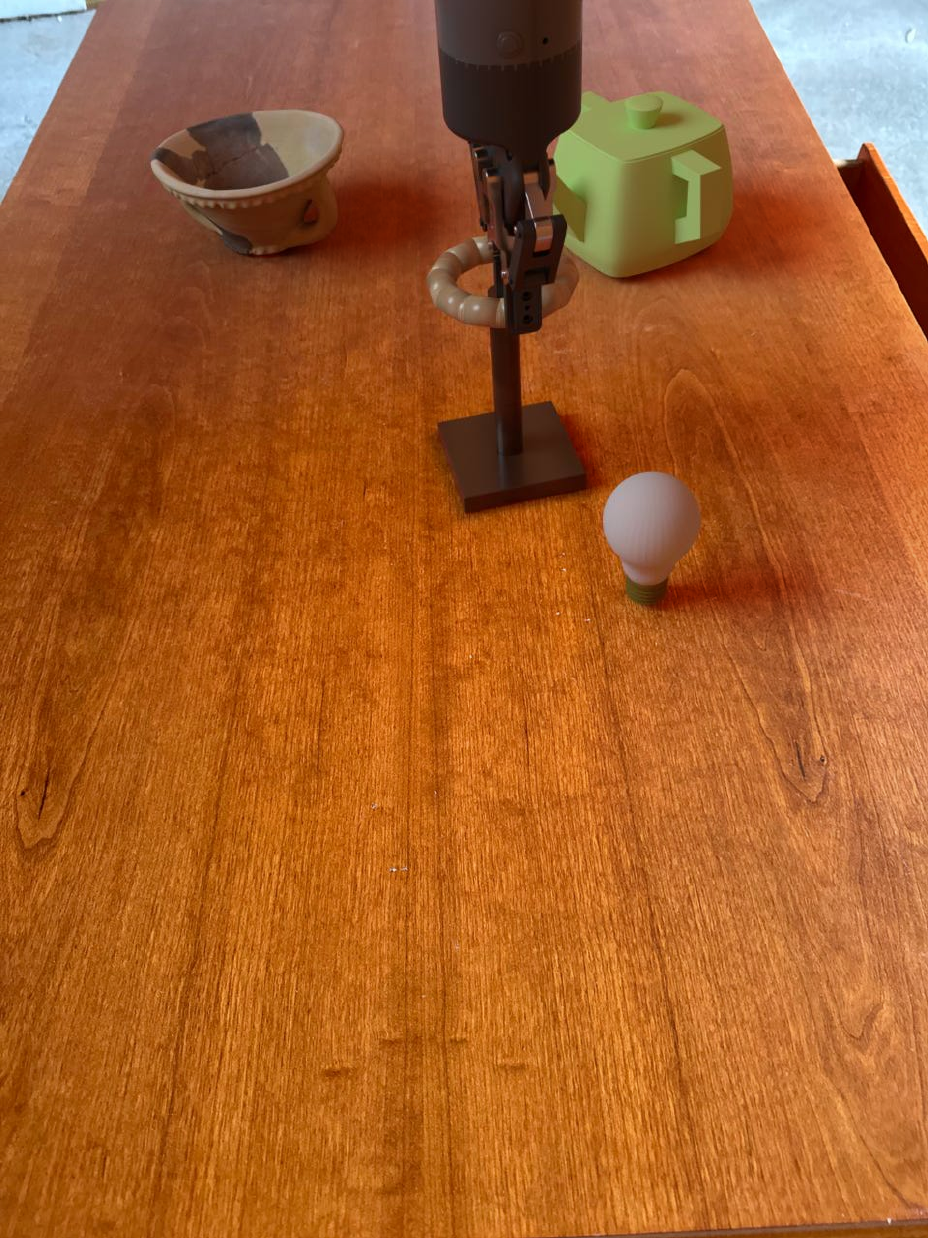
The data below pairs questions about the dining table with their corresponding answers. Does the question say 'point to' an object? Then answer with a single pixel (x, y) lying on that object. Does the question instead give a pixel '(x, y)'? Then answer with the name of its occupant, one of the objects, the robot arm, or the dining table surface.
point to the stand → (509, 441)
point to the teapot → (642, 182)
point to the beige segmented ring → (489, 308)
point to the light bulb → (650, 530)
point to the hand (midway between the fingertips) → (518, 318)
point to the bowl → (255, 177)
